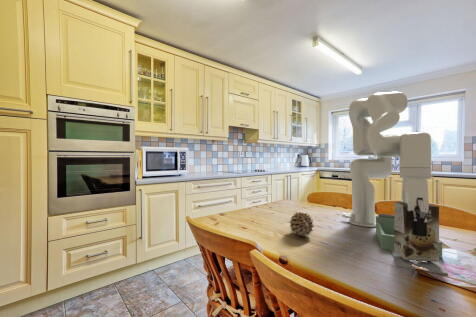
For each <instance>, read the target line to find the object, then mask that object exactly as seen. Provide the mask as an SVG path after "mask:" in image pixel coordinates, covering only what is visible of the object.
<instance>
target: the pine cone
mask: <svg viewBox="0 0 476 317" xmlns="http://www.w3.org/2000/svg"><path fill="white" fill-rule="evenodd" d="M313 222H314V219H312V216H310V214H308V212H306V213H303V212H301V211H299V212H296V213H294V214H293V215H292V216H291V217H290V220H289V224H290V225H289V227H290V229H291V231H292V232H293V233H294V234H295V235H297V236H301V237H306V236H309V235H311V233H312V232H313V231H314V230H313V228H315V226H314V224H313Z"/></svg>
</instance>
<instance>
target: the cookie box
mask: <svg viewBox="0 0 476 317" xmlns="http://www.w3.org/2000/svg"><path fill="white" fill-rule="evenodd" d="M414 209H415V210H417V211H419V208H418V206H415V208H414ZM394 215H395V221H394V252H396V253H397V254H398V255H400V256H401V257H402V258H403V259H405V260H416V261H431V262H439V263H440V258H439V240H440V206H438V205H435V204H430V203H429V209H428V212H427V213H426V219H427V236H426V237H425V236H416V235H413V234H412V221H414V219H413V211H410V212H408V210H407V205H406V204H405V203H403V202H401V201H394ZM416 217H417V214H416Z"/></svg>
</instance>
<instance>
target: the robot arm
mask: <svg viewBox="0 0 476 317" xmlns="http://www.w3.org/2000/svg"><path fill="white" fill-rule="evenodd" d="M348 107H349V108H348V116H349V121H350V123H351V127H352V149H353V153H354V155H355V156H360V157H375V156H376V157H377V158H357V159H354V160H352V161H351V162H350V163H349V164H350V165H349V170H350V171H349V173H350V177H351V187H352V188H351V190H352V192H351V197H352V198H351V199H352V200H351V201H352V203H351V206H352V207H351V208H352V212H351V213H350V212H349V213H346V212H345V213H344V212H343V213H342V218H345V219H348V222H349V224H352V225H354V226H358V227H362V228H363V227H364V228H376V211H375V210H376V208H375V207H376V205H375V200H376V198H375V196H376V195H375V192H376V190H375V185H374V184H373V183H372V182H371V180H370V179H388V178H389V177H390V176H391V174H392V171H393V169H392V167H393V164H392V163H393V161H392V158H399V178H400V179H402V181H401V182H402V184H401V201H400V202H403V203H405V204H406V205H407V210H408V212H410V211H413V219H414V221H412V234H413V235H416V236H425V237H426V236H427V219H426V213H427V212H428V209H429V204H430V203H429V202H430V198H429V184H428V180H431V179H432V138H431V137H432V136H431V134H430V133H429V132H423V131H421V132H418V131H417V132H407V133H402V134H385V135H383V134H381V133H383V132H385V131H387V130H389V129H392V128H393V127H395V126H396V125H397V124H398V123H399V121H400V119H401V116H400V113H403V112H404V111H405V110H406V109H407V107H408V97H407V95H406V94H405V93H404V92H400V91H391V92H390V91H389V92H376V93H373V94H370V95H369V96H368V97H367V98H359V99H356V100H353V101H352V102H350V104H349V106H348ZM367 118H371V121H372V122H370V121H369V120H368V119H367ZM415 206H418V208H419V211H417V210H415V209H414V208H415ZM416 214H417V217H416Z"/></svg>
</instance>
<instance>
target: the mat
mask: <svg viewBox="0 0 476 317" xmlns="http://www.w3.org/2000/svg"><path fill="white" fill-rule="evenodd" d="M390 252H391V255H392V257H393V259H394V261H395V263H396V266H397V267H399V268H404V269H409V270H414V271H415V270H416V269H415V267H413V266H412V264H414V263H413V262H410V261H409V260H405V259H403V258H402V257H401V256H400V255H398V254H397V253H396V252H394V250H390ZM414 265H416V266H418V267H423V268H426V269H428V270H429V271H432V272H433V273H432V272H431V273H432V274H439V275H442V276H443V275H444V276H449V272H448V271H447V270H446V269H445V268H444V267H443V266H442V265H441V263H440V261H439V262H427V263H426V262H421V263H418V264H414ZM416 271H417V270H416Z"/></svg>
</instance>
